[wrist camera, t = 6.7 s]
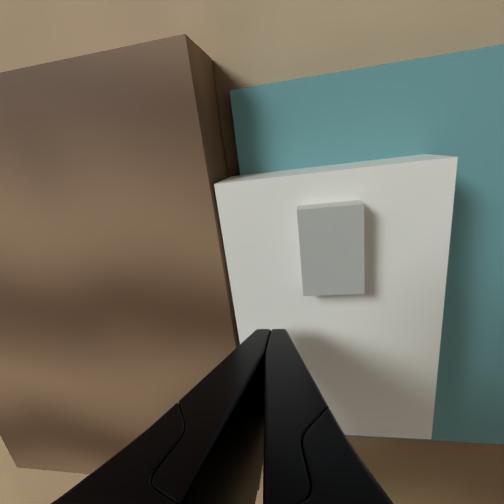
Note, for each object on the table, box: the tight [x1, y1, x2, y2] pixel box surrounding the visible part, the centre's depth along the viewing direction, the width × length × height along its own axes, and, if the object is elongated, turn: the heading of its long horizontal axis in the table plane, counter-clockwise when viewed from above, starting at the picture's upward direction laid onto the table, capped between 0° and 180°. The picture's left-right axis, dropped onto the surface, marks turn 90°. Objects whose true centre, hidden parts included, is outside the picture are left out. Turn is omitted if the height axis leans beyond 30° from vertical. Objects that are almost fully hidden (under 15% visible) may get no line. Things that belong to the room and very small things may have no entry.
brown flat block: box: [0, 34, 262, 490], centre depth 12 cm, size 16×12×2 cm
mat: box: [229, 45, 504, 445], centre depth 11 cm, size 14×10×1 cm
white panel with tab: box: [214, 154, 458, 439], centre depth 10 cm, size 9×6×3 cm, turn 7°
